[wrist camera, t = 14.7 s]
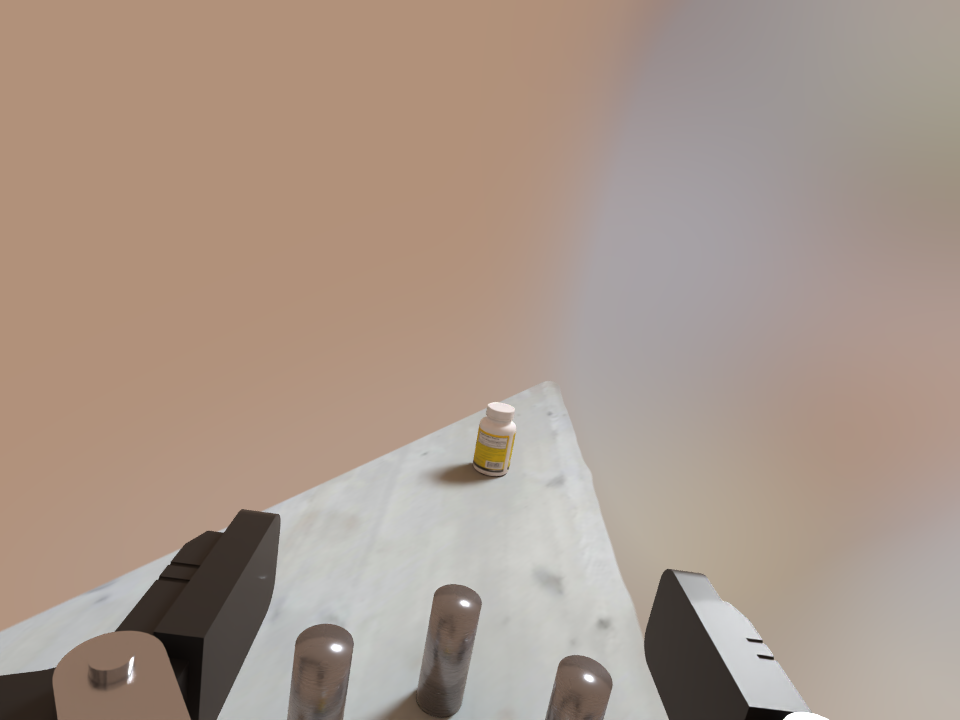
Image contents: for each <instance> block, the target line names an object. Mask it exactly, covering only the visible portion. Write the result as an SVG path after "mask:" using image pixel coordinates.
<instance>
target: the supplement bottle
mask: <svg viewBox="0 0 960 720" xmlns="http://www.w3.org/2000/svg"><path fill="white" fill-rule="evenodd" d="M514 412H515V409H514V408H513V407H512V406H510V405H508V404H504V403H498V402H497V403H496V402H494V403H489V404H488V406H487V411H486V415H487V416H486V417H484V418H483V419H482V420H481V421H480V425H479V430H478V436H477V442H476V448H475V454H474V460H473V466H474V468H475V469H476V470H477V471H479V472H480V473H483V474H486V475H490V476H501V475H504V474H506V473H507V472H508V470H509V466H510V460H511V455H512V450H513V444H514V439H515V434H516V425H515V424H514V422H512V421H511V420H513V417H514Z"/></svg>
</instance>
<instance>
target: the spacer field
mask: <svg viewBox="0 0 960 720" xmlns="http://www.w3.org/2000/svg"><path fill="white" fill-rule="evenodd" d="M481 605H482V602H481V598H480V597H479V595H478V594H477V593H476V592H475V591H473V590H472V589H470V588H468V587H466V586H462V585H456V584H450V585H445V586H442V587H440V588H439V589H437V590H436V592H435V594H434V598H433V604H432V609H431V615H430V621H429V626H428V632H427V638H426V643H425V649H424V655H423V660H422V666H421V671H420V677H419V683H418V688H417V694H416V699H417V703H418V705H419V706H420V708H421V709H422V710H423V711H424V712H426V713H427V714H429V715H431V716H435V717H448V716H451V715H453V714H455V713H456V712H457V711H458V710H459V709H460V707H461V704H462V699H463V694H464V689H465V684H466V680H467V675H468V670H469V665H470V660H471V655H472V650H473V645H474V640H475V635H476V630H477V625H478V620H479V615H480V610H481ZM353 646H354V642H353V638H352V636H351V634H350V633H349V632H348V631H347V630H345V629H344V628H342V627H340V626H337V625H332V624H319V625H315V626H312V627H309V628H307V629H306V630H304V631H303V632H302V633H301V634H300V635H299V636H298V638H297V640H296V644H295V653H294V662H293V671H292V680H291V689H290V698H289V707H288V716H287V720H343V717H344V709H345V702H346V695H347V688H348V681H349V674H350V667H351V660H352V653H353ZM612 685H613V684H612V679H611V676H610V674H609V673H608V671H607V670H606V669H605V668H604V667H603V666H602V665H601V664H600V663H598V662H597V661H595V660H593V659H591V658H588V657H585V656H580V655H572V656H568V657H565V658H564V659H562V660H561V662H560V663H559V666H558V670H557V674H556V678H555V682H554V686H553V690H552V694H551V698H550V702H549V706H548V710H547V714H546V718H545V720H603V718H604V715H605V711H606V708H607V704H608V700H609V697H610V693H611V690H612Z"/></svg>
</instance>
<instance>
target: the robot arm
mask: <svg viewBox="0 0 960 720" xmlns="http://www.w3.org/2000/svg"><path fill="white" fill-rule="evenodd" d="M279 534H280V515H279V514H273V513H266V512H259V511H251V510H244V509H242V510H240V511H239V512H238V514H237V515H236V517H235V518H234V519H233V521H232V522H231V524H230V525H229V526H228V528H227V529H226V531H225V532H224V533H221V532H214V531H206V532H205V533H203V534H201V535H200V536H198V537H196V538H195V539H193V540H191V541H190V542H188V543H186V544H185V545H184V546H183V547H182V549H181V550H180V551H179V552H178V554H177V555H176V556H175V557H174V558H173V560H172V561H171V564H170V565H168V566H167V567H166V568H165V570H164V571H163V572H162V573H161V575H160V576H159V579H158V580H156V581H155V582H154V583H153V585H152V586H151V587H150V588H149V590H148V591H147V592H146V593H145V595H144V596H143V597H142V598H141V600H140V601H139V602H138V603H137V605H136V606H135V607H134V608H133V610H132V611H131V612H130V613H129V615H128V616H127V617H126V618H125V620H124V621H123V622H122V623H121V624H120V626H119V627H118V628H117V629H116V631H115V632H111V633H107V634H103V635H100V636H97V637H94V638H92V639H90V640H87V641H85V642H83V643H82V644H80V645H78V646H77V647H75V648H74V649H72V650H71V651H70V652H69V653H67V654H66V655H65V656H64V657H63V658H62V660H61V661H60V662H59V663H58V665H57V667H56V668H52V669H48V670H42V671H35V672H27V673H19V674H10V675H2V676H0V720H217V717H218V715H219V713H220V711H221V709H222V707H223V705H224V703H225V700H226V698H227V696H228V694H229V692H230V690H231V688H232V686H233V684H234V681H235V679H236V677H237V675H238V673H239V671H240V669H241V667H242V664H243V662H244V660H245V658H246V656H247V654H248V652H249V650H250V648H251V645H252V643H253V641H254V639H255V637H256V635H257V633H258V631H259V628H260V626H261V624H262V622H263V620H264V618H265V616H266V613H267V611H268V608H269V605H270V602H271V598H272V594H273V589H274V584H275V575H276V565H277V555H278V544H279ZM644 649H645V657H646V662H647V665H648V667H649V670H650V672H651V675H652V677H653V680H654V682H655V685H656V688H657V690H658V693H659V695H660V698H661V700H662V703H663V705H664V708H665V710H666V713H667V715H668V718H669V720H828V719H825V718H823V717H820V716H818V715H814V714H813V713H812V712H811V711H810V709H809V708H808V706H807V705H806V703H805V702H804V700H803V699H802V697H801V696H800V694H799V693H798V691H797V690H796V688H795V687H794V685H793V684H792V683H791V681H790V679H789V678H788V677H787V675H786V674H785V672H784V671H783V669H782V668H781V666H780V665H779V663H778V662H777V661H775V660H774V656H773V655H772V653H771V651H770V650H769V649H768V647H767V646H766V644H763V641H762V638H761V637H760V635H759V634H758V632H757V631H756V629H755V628H754V626H753V625H752V624H751V622H750V621H749V620H748V619H747V618H746V617H745V616H744V615H743V614H741V613H740V612H739V611H738V610H737V609H736V608H735V607H733V606H732V605H731V604H730V603H729V602H725V601H722V600H721V599H720V597H719V595H718V594H717V592H716V591H715V589H714V588H713V586H712V585H711V583H710V582H709V580H708V579H707V577H706V576H705V575H703V574H701V573H693V572H687V571H679V570H672V569H667V570H665V571H664V573H663V574H662V576H661V579H660V583H659V586H658V590H657V594H656V596H655V600H654V603H653V607H652V610H651V614H650V617H649V621H648V624H647V628H646V632H645V640H644Z"/></svg>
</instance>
